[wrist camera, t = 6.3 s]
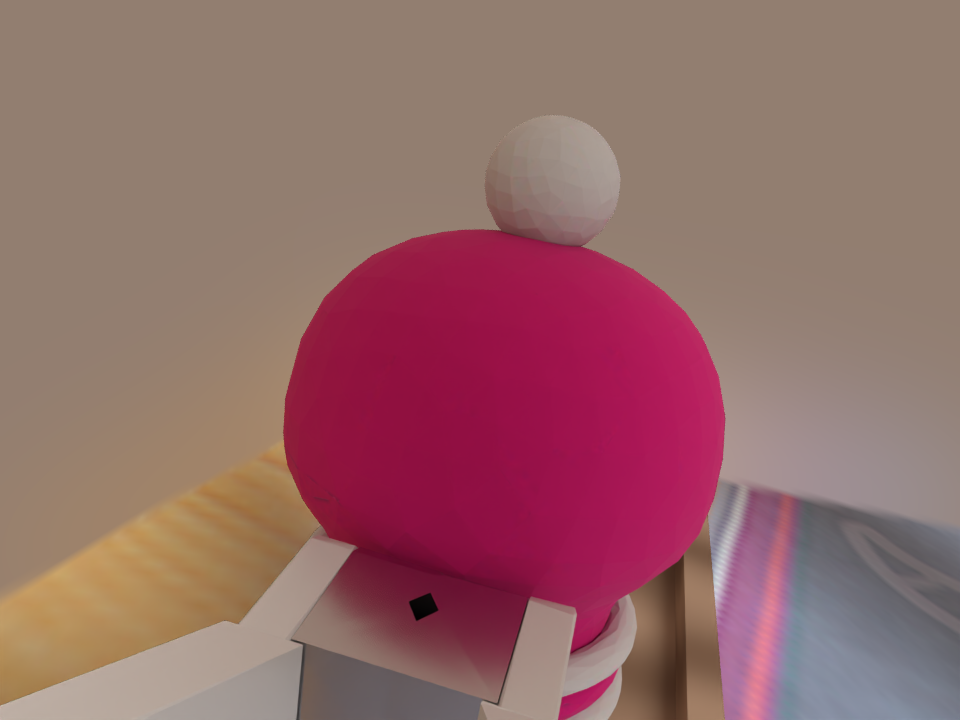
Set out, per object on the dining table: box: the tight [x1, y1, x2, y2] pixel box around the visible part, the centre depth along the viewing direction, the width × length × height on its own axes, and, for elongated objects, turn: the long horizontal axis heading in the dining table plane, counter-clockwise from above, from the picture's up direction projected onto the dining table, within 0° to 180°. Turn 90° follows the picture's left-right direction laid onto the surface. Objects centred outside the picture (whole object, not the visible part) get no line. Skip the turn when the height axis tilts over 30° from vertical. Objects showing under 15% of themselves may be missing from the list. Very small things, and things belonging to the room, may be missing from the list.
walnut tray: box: [608, 514, 725, 720], centre depth 29 cm, size 23×15×2 cm, turn 166°
